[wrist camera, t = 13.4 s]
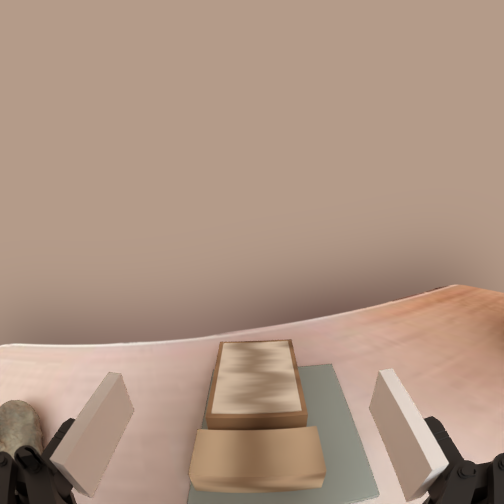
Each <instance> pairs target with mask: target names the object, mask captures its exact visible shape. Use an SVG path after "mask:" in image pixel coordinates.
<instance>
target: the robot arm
mask: <svg viewBox="0 0 504 504" xmlns="http://www.w3.org/2000/svg"><path fill="white" fill-rule="evenodd" d="M369 409H370V412H371V414H372V416H373V419H374V421H375V423H376V426H377V428H378V430H379V433H380V435H381V438H382V440H383V442H384V445H385V447H386V450H387V452H388V455H389V457H390V460H391V462H392V465H393V467H394V470H395V472H396V475H397V478H398V480H399V483H400V485H401V488H402V491H403V493H404V496H405V499H406V502H409V501H412V500H415V499H417V498H420V497H422V496H423V495H424V494H425V493H426V492H427V491H428V493H429V495H430V496H429V497H428V498H427V499H426V500H425V501H424V502H423V504H504V453H501V454H499V455H498V456H496V457H495V459H494V460H493V461H492V462H488V463H483V464H475V463H474V462H471V461H469V460H464V459H463V458H462V456H461V454H460V453H459V451H458V449H457V448H456V446H455V444H454V443H453V441H452V439H451V438H450V437H449V435H448V433H447V431H445V428H444V427H443V425H442V423H441V422H440V421H439V420H437V419H436V418H435V417H433V416H431V417H428V418H425V419H423V417H422V415H421V414H420V412H419V410H418V409H417V407H416V405H415V404H414V402H413V400H412V399H411V397H410V396H409V394H408V392H407V391H406V389H405V388H404V386H403V384H402V383H401V381H400V380H399V378H398V376H397V375H396V373H395V372H394V370H393V369H392V368H390V369H385V370H379V372H378V377H377V381H376V385H375V389H374V392H373V396H372V400H371V403H370V407H369ZM133 412H134V408H133V405H132V403H131V400H130V397H129V395H128V392H127V389H126V387H125V384H124V381H123V378H122V375H121V374H120V373H113V372H109V373H108V374H107V375H106V377H105V378H104V380H103V381H102V382H101V384H100V385H99V387H98V388H97V390H96V391H95V392H94V394H93V395H92V397H91V398H90V399H89V401H88V402H87V404H86V405H85V407H84V408H83V410H82V411H81V412H80V414H79V415H78V417H77V418H76V420H75V419H72V418H70V419H68V420H67V421H65V422H64V423H63V424H62V425H61V427H60V428H59V429H58V432H56V434H55V435H54V437H53V438H52V440H51V441H50V442H49V444H48V445H47V447H46V448H45V450H44V451H43V453H42V454H41V456H40V454H39V453H38V452H37V450H36V449H35V448H34V447H32V446H29V445H24V446H21V447H19V448H18V449H17V450H16V451H15V453H14V459H13V458H12V456H11V455H10V454H9V453H7V452H4V451H1V452H0V504H77V503H76V501H75V498H74V495H73V493H72V491H71V490H72V488H73V487H74V488H75V489H76V490H77V491H78V493H80V494H83V495H85V496H88V497H91V498H93V496H94V493H95V491H96V489H97V487H98V485H99V482H100V480H101V478H102V476H103V474H104V472H105V470H106V467H107V465H108V463H109V461H110V459H111V457H112V455H113V453H114V451H115V449H116V446H117V444H118V442H119V440H120V438H121V436H122V434H123V432H124V430H125V428H126V426H127V424H128V422H129V420H130V418H131V416H132V414H133Z"/></svg>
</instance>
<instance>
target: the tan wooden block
mask: <svg viewBox="0 0 504 504" xmlns="http://www.w3.org/2000/svg"><path fill="white" fill-rule="evenodd" d="M326 471H327V470H326V465H325V461H324V456H323V452H322V448H321V443H320V439H319V434H318V430H317V426H311V427H301V428H290V429H274V430H205V429H198V430H197V434H196V439H195V444H194V449H193V454H192V458H191V463H190V468H189V473H188V474H189V477H190V479H191V481H192V484H193V486H194V488H195V490H196V491H207V492H224V493H270V492H286V491H298V490H307V489H315V488H321V487H322V484H323V481H324V478H325V475H326Z"/></svg>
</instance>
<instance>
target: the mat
mask: <svg viewBox="0 0 504 504" xmlns="http://www.w3.org/2000/svg"><path fill="white" fill-rule="evenodd" d="M298 371H299V376H300V380H301V385H302V389H303V394H304V399H305V403H306V408H307V413H308V418H307V426H306V427H311V426H317V430H318V434H319V439H320V443H321V448H322V452H323V456H324V461H325V465H326V470H327V471H326V475H325V478H324V481H323V484H322V487H321V488H315V489H307V490H298V491H286V492H270V493H224V492H207V491H196V490H195V488H194V486H193V484H192V481H191V485H190V490H189V496H188V501H187V504H351V503H355V502H359V501H364V500H368V499H371V498H375V497H378V496H379V491H378V488H377V485H376V482H375V479H374V476H373V474H372V471H371V468H370V465H369V462H368V459H367V457H366V454H365V451H364V448H363V445H362V443H361V440H360V437H359V434H358V432H357V429H356V426H355V424H354V421H353V418H352V416H351V413H350V410H349V408H348V405H347V402H346V400H345V397H344V395H343V392H342V389H341V387H340V384H339V382H338V379H337V377H336V374H335V371H334V369H333V366H332V364H326V365H315V366H304V367H298ZM213 376H214V370H213V374H212V379H211V384H210V388H209V393H208V398H207V403H206V408H205V413H204V418H203V423H202V428H201V429H205V430H208V427H207V422H206V418H205V417H206V412H207V407H208V401H209V396H210V391H211V386H212V381H213Z"/></svg>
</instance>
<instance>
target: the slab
mask: <svg viewBox="0 0 504 504" xmlns="http://www.w3.org/2000/svg"><path fill="white" fill-rule="evenodd" d="M205 418H206V422H207V427H208V430H274V429H290V428H301V427H306V426H307V418H308V413H307V408H306V403H305V399H304V394H303V389H302V385H301V380H300V376H299V371H298V367H297V362H296V358H295V354H294V349H293V345H292V340H291V339H290V340H272V341H244V342H220V345H219V350H218V355H217V360H216V365H215V370H214V376H213V381H212V386H211V391H210V396H209V401H208V407H207V412H206V417H205Z"/></svg>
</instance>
